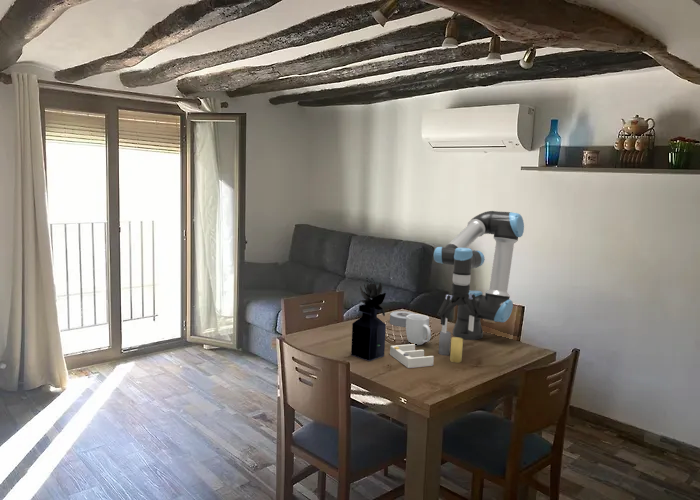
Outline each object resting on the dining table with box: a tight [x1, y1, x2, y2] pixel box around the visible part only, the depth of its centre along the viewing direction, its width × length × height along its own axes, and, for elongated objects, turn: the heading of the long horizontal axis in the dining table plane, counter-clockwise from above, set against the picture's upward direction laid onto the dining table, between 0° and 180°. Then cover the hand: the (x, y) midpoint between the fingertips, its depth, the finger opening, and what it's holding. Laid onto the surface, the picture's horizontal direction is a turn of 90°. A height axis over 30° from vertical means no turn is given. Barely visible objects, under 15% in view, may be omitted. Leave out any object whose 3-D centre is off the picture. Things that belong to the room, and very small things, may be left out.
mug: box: [405, 313, 432, 346], centre depth 261 cm, size 15×11×13 cm
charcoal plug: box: [438, 330, 452, 356], centre depth 249 cm, size 5×5×10 cm
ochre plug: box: [449, 336, 464, 364], centre depth 240 cm, size 5×5×10 cm
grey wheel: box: [389, 310, 416, 328], centre depth 298 cm, size 15×15×5 cm
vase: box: [350, 277, 387, 362], centre depth 240 cm, size 14×12×35 cm
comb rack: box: [389, 343, 435, 369], centre depth 239 cm, size 12×18×5 cm, turn 21°
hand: (457, 331), depth 238 cm, fingers open, 13 cm apart
